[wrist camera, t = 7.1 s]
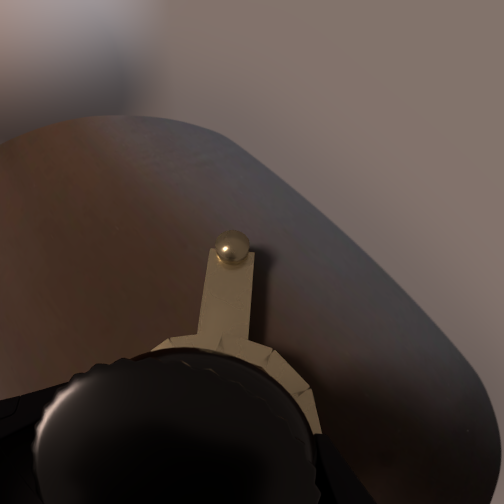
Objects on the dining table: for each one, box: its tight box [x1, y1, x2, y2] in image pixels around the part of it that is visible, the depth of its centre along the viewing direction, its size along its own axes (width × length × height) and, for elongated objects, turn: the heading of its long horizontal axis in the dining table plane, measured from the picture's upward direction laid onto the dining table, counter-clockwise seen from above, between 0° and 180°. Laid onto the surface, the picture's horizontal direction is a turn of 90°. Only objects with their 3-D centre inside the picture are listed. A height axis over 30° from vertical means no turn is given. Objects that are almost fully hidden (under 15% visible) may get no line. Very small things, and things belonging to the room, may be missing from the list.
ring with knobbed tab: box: [151, 230, 322, 435], centre depth 17 cm, size 13×12×2 cm
